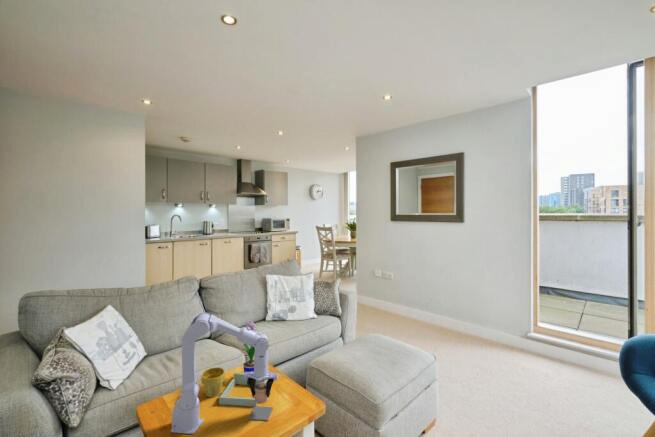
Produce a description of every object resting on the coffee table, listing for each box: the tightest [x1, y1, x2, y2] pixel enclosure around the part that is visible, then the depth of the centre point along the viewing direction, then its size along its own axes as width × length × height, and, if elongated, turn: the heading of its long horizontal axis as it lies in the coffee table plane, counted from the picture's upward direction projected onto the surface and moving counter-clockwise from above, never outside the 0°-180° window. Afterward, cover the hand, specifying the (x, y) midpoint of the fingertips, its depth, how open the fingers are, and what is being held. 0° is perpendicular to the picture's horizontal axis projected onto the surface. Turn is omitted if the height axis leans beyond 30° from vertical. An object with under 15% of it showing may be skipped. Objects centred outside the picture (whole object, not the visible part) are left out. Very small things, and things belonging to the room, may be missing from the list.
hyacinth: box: [242, 320, 257, 373], centre depth 154 cm, size 9×10×30 cm
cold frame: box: [218, 372, 268, 407], centre depth 139 cm, size 17×17×5 cm
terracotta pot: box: [254, 382, 268, 405], centre depth 126 cm, size 6×6×6 cm
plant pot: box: [200, 366, 226, 398], centre depth 140 cm, size 10×10×10 cm
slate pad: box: [248, 405, 274, 422], centre depth 125 cm, size 8×8×1 cm
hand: (261, 395), depth 125 cm, fingers closed on terracotta pot, 6 cm apart
